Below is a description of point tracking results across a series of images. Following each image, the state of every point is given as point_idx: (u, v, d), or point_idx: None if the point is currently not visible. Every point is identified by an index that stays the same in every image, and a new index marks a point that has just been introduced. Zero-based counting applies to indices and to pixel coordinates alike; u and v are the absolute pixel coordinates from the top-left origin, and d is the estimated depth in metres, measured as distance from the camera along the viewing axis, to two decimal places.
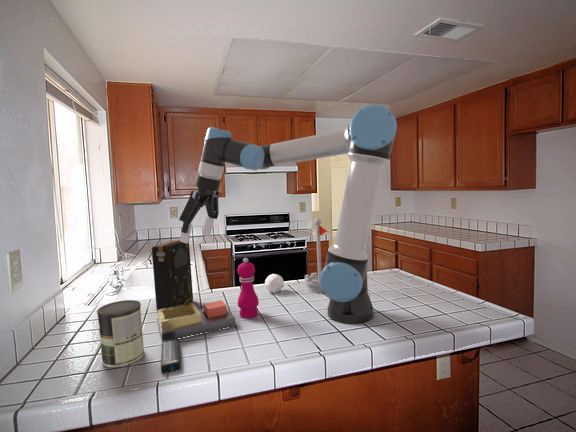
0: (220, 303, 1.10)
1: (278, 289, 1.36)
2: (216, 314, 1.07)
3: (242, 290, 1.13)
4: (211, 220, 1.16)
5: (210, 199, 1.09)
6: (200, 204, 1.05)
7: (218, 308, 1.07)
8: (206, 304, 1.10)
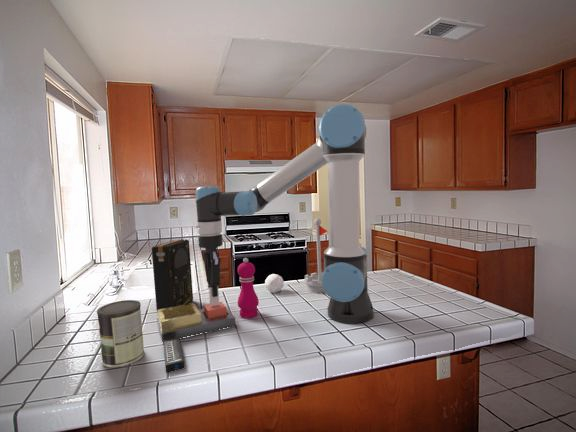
0: (220, 305, 1.10)
1: (278, 289, 1.36)
2: (216, 316, 1.07)
3: (242, 290, 1.13)
4: None
5: None
6: None
7: (218, 310, 1.07)
8: (206, 305, 1.10)
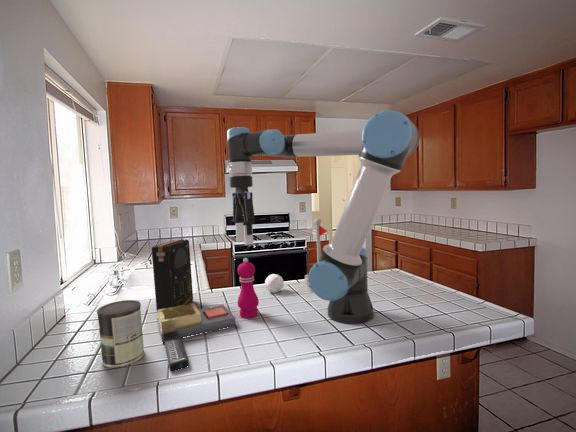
0: (221, 310, 1.10)
1: (278, 289, 1.36)
2: None
3: (242, 290, 1.13)
4: (242, 224, 1.16)
5: None
6: None
7: (218, 316, 1.07)
8: (207, 311, 1.10)
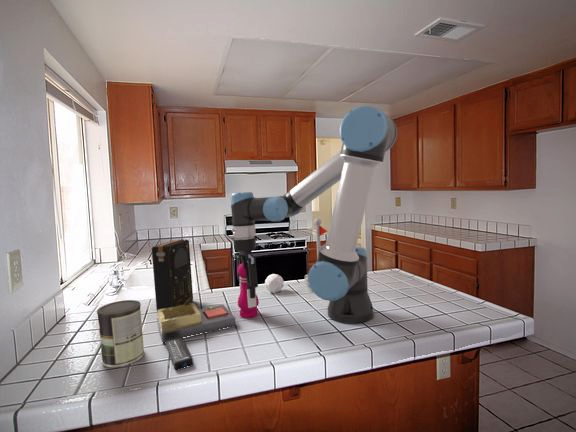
0: (221, 310, 1.10)
1: (278, 289, 1.36)
2: None
3: (242, 290, 1.13)
4: None
5: None
6: None
7: (218, 316, 1.07)
8: (207, 311, 1.10)
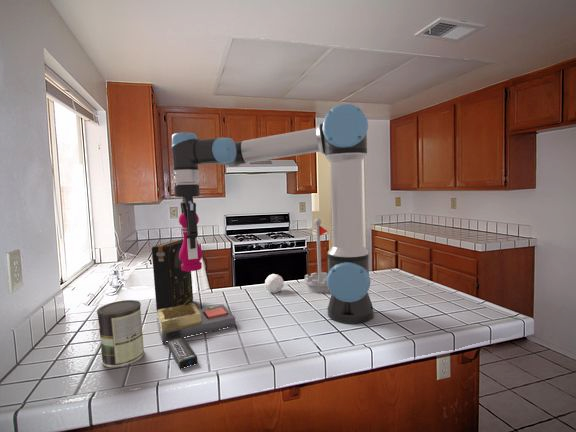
0: (221, 310, 1.10)
1: (278, 289, 1.36)
2: None
3: (183, 241, 1.04)
4: None
5: None
6: None
7: (218, 316, 1.07)
8: (207, 311, 1.10)
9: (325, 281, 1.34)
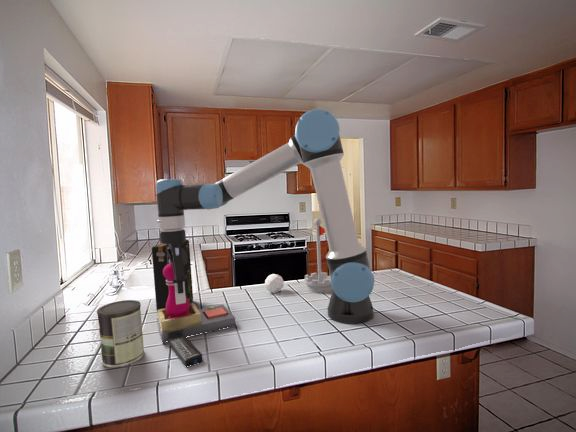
0: (221, 310, 1.10)
1: (278, 289, 1.36)
2: None
3: (169, 294, 1.02)
4: None
5: None
6: None
7: (218, 316, 1.07)
8: (207, 311, 1.10)
9: (325, 281, 1.34)
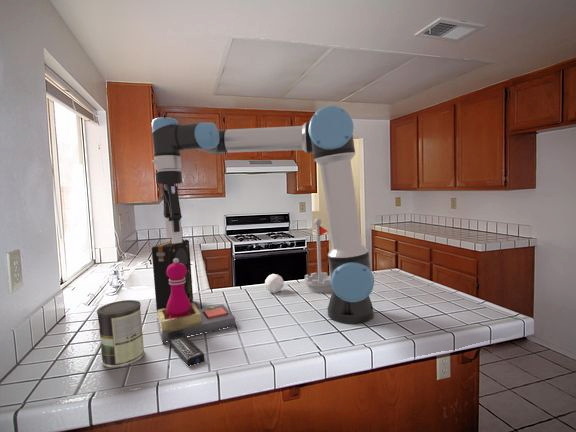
0: (221, 310, 1.10)
1: (278, 289, 1.36)
2: None
3: (171, 293, 1.03)
4: None
5: None
6: None
7: (218, 316, 1.07)
8: (207, 311, 1.10)
9: (325, 281, 1.34)
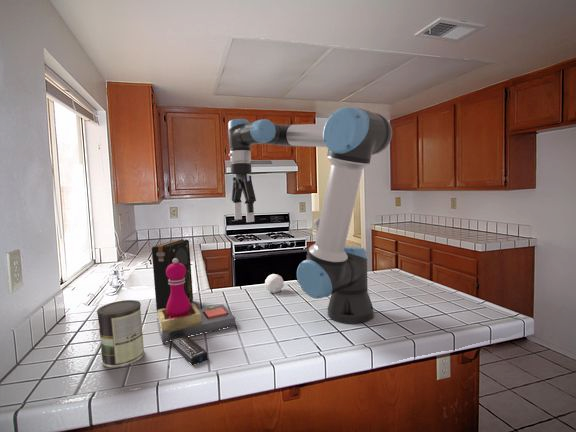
0: (221, 310, 1.10)
1: (278, 289, 1.36)
2: None
3: (171, 294, 1.03)
4: (240, 204, 1.30)
5: None
6: None
7: (218, 316, 1.07)
8: (207, 311, 1.10)
9: None
